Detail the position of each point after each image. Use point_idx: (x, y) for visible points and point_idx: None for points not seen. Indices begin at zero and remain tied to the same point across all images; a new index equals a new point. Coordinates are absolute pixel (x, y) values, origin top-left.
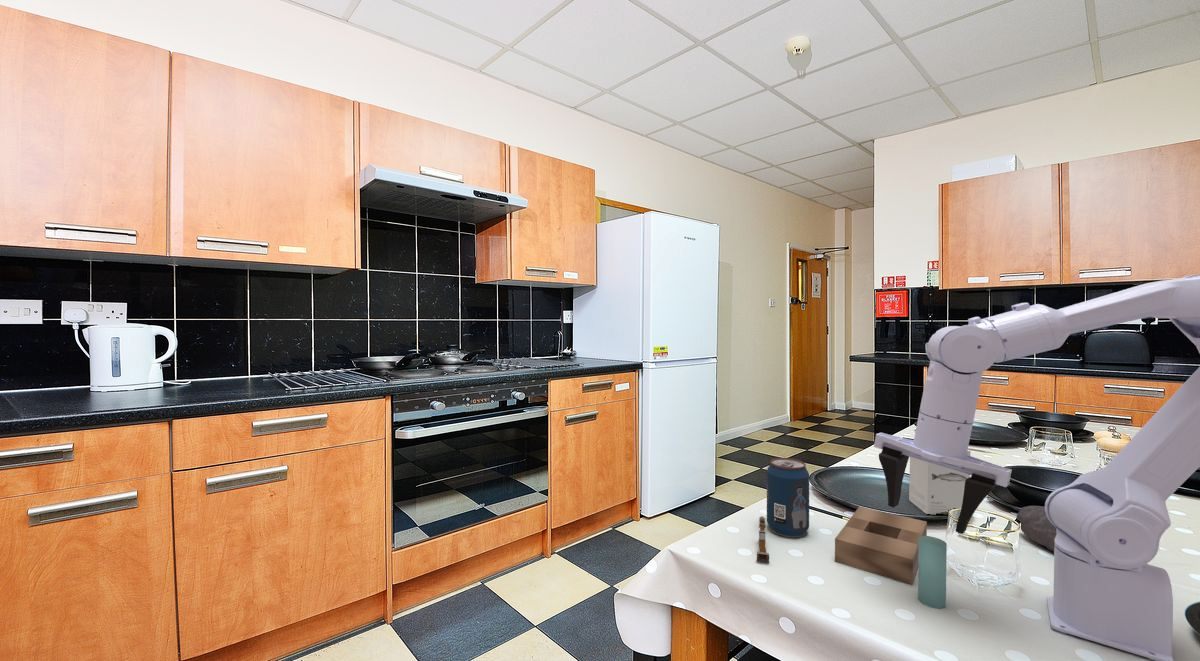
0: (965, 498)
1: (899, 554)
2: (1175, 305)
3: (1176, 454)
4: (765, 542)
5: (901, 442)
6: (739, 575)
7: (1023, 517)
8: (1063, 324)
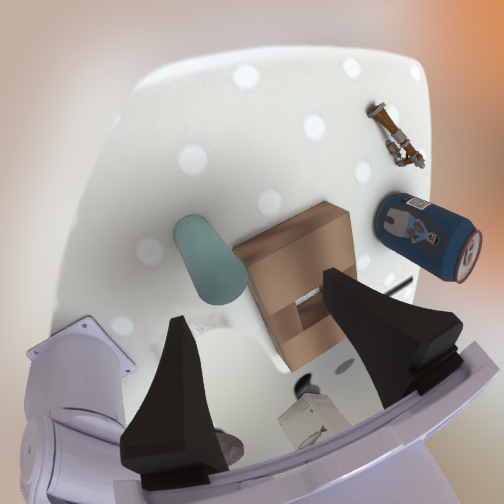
0: (177, 394)
1: (269, 262)
2: None
3: None
4: (392, 134)
5: (456, 410)
6: (365, 56)
7: (235, 447)
8: None
